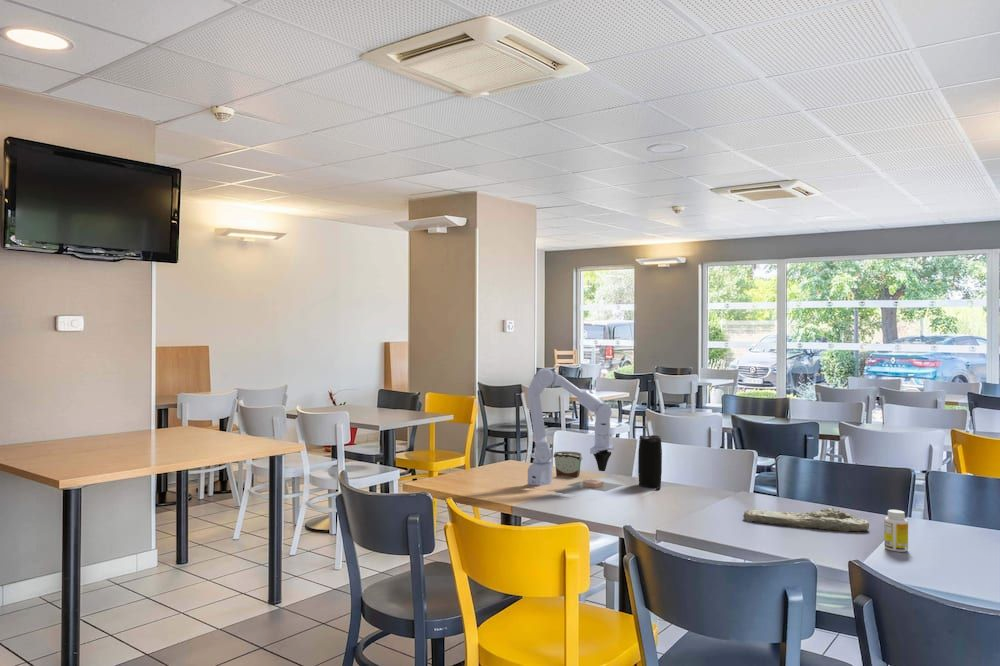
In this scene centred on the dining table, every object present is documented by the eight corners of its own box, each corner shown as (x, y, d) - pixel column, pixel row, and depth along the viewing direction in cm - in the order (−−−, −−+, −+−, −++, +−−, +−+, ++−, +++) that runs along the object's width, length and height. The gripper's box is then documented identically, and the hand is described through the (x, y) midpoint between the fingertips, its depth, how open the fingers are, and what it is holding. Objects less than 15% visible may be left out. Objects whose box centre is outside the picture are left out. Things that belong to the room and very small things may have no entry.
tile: (603, 485, 264) (596, 488, 259) (590, 483, 267) (582, 486, 263) (603, 481, 264) (596, 483, 259) (590, 479, 267) (582, 481, 263)
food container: (587, 478, 284) (588, 453, 284) (581, 480, 278) (581, 455, 279) (560, 474, 290) (560, 450, 290) (553, 477, 285) (553, 452, 285)
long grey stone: (744, 520, 226) (743, 530, 217) (743, 504, 226) (742, 512, 217) (866, 525, 214) (871, 535, 205) (866, 507, 214) (871, 517, 205)
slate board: (605, 494, 254) (605, 491, 254) (566, 488, 264) (566, 485, 264) (623, 488, 265) (623, 485, 265) (586, 482, 275) (586, 479, 275)
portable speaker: (655, 486, 270) (656, 434, 270) (665, 491, 261) (666, 437, 261) (634, 486, 268) (634, 434, 268) (643, 491, 259) (644, 438, 259)
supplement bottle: (910, 549, 191) (910, 511, 191) (904, 554, 186) (905, 514, 187) (887, 545, 194) (887, 507, 194) (881, 549, 190) (881, 511, 190)
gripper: (602, 437, 260) (601, 474, 260) (621, 433, 272) (620, 469, 272) (585, 435, 264) (585, 472, 264) (604, 432, 276) (604, 467, 276)
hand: (601, 470), depth 268 cm, fingers closed
